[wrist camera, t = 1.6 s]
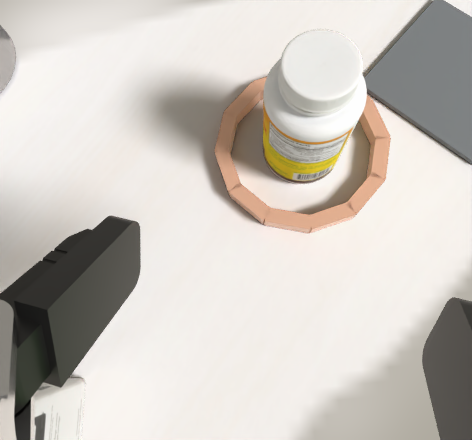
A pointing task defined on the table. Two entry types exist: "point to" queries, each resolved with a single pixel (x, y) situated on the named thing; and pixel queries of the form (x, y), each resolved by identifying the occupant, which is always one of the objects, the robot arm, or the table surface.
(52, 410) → the ink box
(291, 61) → the supplement bottle
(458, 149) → the mat
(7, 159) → the table surface
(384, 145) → the faceted open ring
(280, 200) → the table surface
